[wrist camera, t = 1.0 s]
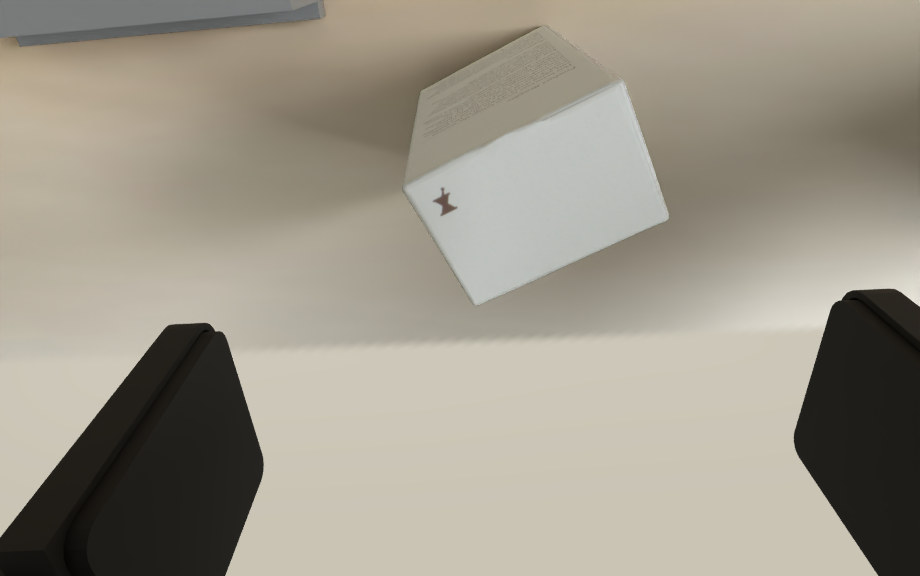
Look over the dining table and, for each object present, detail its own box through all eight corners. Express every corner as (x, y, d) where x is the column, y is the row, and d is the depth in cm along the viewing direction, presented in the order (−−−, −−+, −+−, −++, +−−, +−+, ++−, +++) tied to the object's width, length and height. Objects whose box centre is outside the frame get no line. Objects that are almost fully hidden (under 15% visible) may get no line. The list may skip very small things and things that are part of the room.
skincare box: (463, 175, 27) (468, 313, 17) (418, 89, 25) (392, 186, 15) (586, 114, 26) (676, 223, 15) (549, 19, 24) (622, 70, 14)
